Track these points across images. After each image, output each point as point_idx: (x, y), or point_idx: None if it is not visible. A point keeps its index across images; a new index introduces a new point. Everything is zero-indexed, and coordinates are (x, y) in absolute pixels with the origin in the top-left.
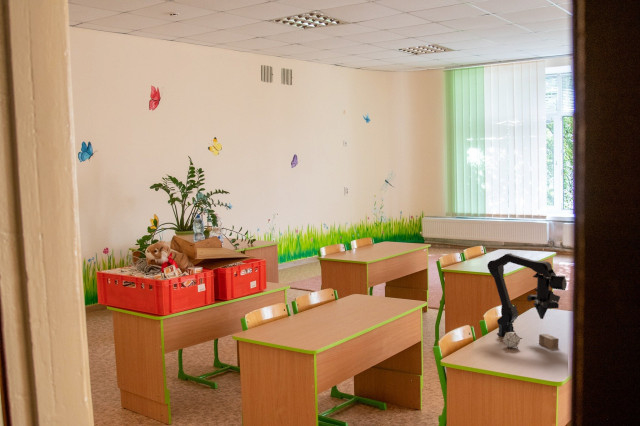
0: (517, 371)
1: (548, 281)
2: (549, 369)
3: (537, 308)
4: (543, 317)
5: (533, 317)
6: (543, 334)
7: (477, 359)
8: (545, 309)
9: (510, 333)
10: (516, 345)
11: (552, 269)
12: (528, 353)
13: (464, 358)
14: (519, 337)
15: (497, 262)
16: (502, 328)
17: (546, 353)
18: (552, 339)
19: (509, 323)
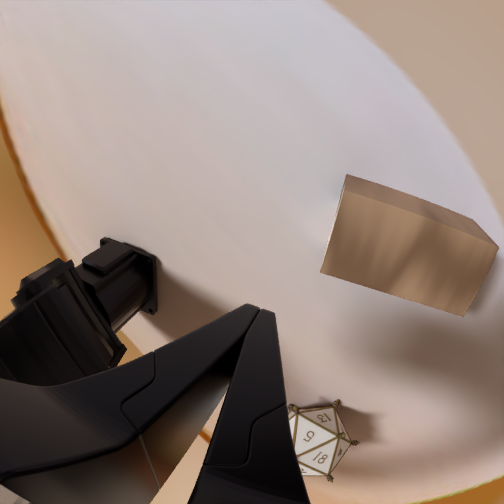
0: (456, 485)
1: None
2: None
3: (157, 489)
4: (276, 330)
5: None
6: (343, 244)
7: (344, 494)
8: (270, 497)
9: (306, 475)
10: (341, 422)
11: None
12: (415, 413)
13: (321, 499)
14: (333, 440)
15: None
16: (119, 327)
17: (473, 362)
18: (472, 296)
19: (99, 316)
